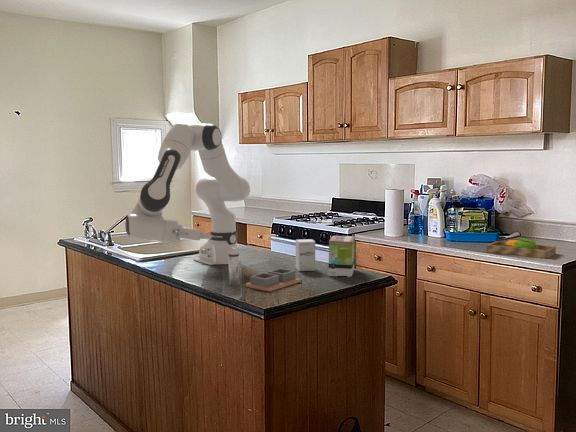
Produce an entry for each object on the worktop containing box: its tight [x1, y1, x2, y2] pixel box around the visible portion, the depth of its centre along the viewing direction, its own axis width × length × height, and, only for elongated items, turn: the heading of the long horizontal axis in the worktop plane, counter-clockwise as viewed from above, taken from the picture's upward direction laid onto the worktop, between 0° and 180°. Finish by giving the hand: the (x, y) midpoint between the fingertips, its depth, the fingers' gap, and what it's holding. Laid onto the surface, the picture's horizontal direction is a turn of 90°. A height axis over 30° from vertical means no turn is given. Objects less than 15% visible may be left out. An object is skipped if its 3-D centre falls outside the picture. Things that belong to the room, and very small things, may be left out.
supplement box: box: [295, 238, 316, 272], centre depth 230 cm, size 7×7×13 cm
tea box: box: [327, 235, 356, 278], centre depth 223 cm, size 15×10×15 cm, turn 170°
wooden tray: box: [486, 240, 557, 259], centre depth 263 cm, size 28×15×4 cm, turn 51°
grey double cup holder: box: [245, 267, 301, 292], centre depth 205 cm, size 12×18×4 cm, turn 141°
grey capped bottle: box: [228, 246, 241, 287], centre depth 205 cm, size 4×4×14 cm
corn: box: [505, 237, 538, 250], centre depth 264 cm, size 7×8×20 cm
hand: (208, 236), depth 201 cm, fingers open, 8 cm apart
